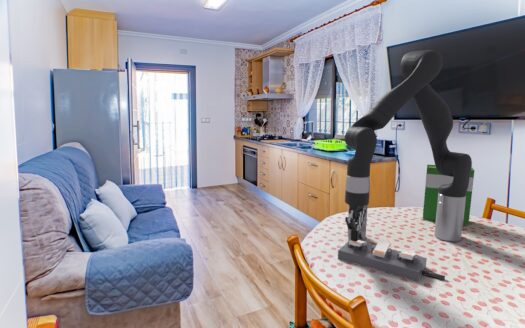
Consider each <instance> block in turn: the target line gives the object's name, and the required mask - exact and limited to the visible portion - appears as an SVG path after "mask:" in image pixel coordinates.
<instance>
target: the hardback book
mask: <svg viewBox="0 0 525 328" xmlns="http://www.w3.org/2000/svg"><path fill="white" fill-rule="evenodd" d="M474 176H475V169H474V167H472V168H471V174H470V179H469V186H468V189H467V192H466V200H465V210H464V219H463V226H469V224H470V214H471V213H470V212H471V206H472V205H471V204H472V197H473V196H472V195H473V189H474V187H473V186H474V178H475V177H474ZM453 178H454V177H451V176H446V175H442V174H440V173H439V172H438V171H437V169H436V166H435V164H427V165H426V175H425V185H424V186H425V187H424V199H423V208H422V210H423V212H422V220H423V221H432V222H436V212H437V202H438V190H439V186H440V185H444V184H450V183H452V182H453Z"/></svg>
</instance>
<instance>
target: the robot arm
mask: <svg viewBox="0 0 525 328" xmlns="http://www.w3.org/2000/svg"><path fill="white" fill-rule="evenodd" d="M442 67H443V58H442V55H441V54H440V52H438V50H432V49H425V50H423V49H422V50H414V51H410V52H407V53H406V54H404V55H403V56H402V58H401V61H400V72H401V74H402V77H403V80H404V81H402V82H401V83H399V84H398V85H397V86H395V87H393V88H391V90H389V91H387V92H386V93H384V94H383V95H382V96H381V97H380V98H378V99H377V101H375V103H374V104H373V105H372V106H371V107H370V108H369V110H368V111H367V112H366V114H364V115H363V116H362V117H360V118H358V120H356V121H355V122H354V123H352V124H351V125H350V126H349V127H348V129H347V130H346V132H345V134H344V143H345V145H346V146H348V147H349V148H351V149H354V150H355V152H354V156H351V157H348V160H347V167H346V170H347V171H346V179H345V190H344V191H345V192H344V203H345V204H347V205H348V210H347V211H348V214H349V217H348V216H345V218H344V220H345V224H346V226H347V230H348V229H350V230H351V240H352V241H355V242H357V241H358V240H359V230H360V228H361V226H362V225H363V221H364V217H365V214H366V210H365V209H363V208H364V206H367V205H368V206H369V204H370V194H371V193H370V190H371V180H370V179H371V178H370V177H371V164H372V163H371V162H372V160H373V157H374V154H375V152H376V147H377V141H378V140H377V134H376V132H375V131H377V130H381V129H384V128H385V127H386V126H387V125H388V124H389V123H390V122H391V120H392V118H394V117H395V116H396V114H397V113H398V112H399V111H400V110H401V109H402V108H403V107H404V106H405V105H406V103H408V102H409V101H410V100H411V99H413V100H414V103H415V105H416V108H417V110H418V112H419V116H420V120H421V123H422V125H423V128H424V130H425V133H426V136H427V138H428V142H429V144H430V145H429V146H430V148H431V153H432V157H433V160H434V162H433V163H434V165H435V166H436V169H437V171H438V172H439V173H440V174H442V175H446V176H451V177H454V178H453V182H452V183H450V184H444V185H440V186H439V190H438V202H437V212H436V221H435V225H434V237H435V238H437V239H440V240H442V241H445V242H460V241H462V236H463V227H464V225H463V219H464V210H465V200H466V192H467V189H468V186H469V179H470V174H471V168H473V161H472V157H471V156H470V154H468V153H464V152H463V153H462V152H454V151H450V150H449V148H448V144H447V140H448V138H449V136H450V134H451V132H452V130H453V127H454V120H453V117H452V113H451V110H450V108H449V105H448V104H447V102H446V101H445V100H444V99H443V97H441V96H440V95H439V94H438V93H437V92H436V91H435V90H434V89H433V87H432V86H431V85H430V82H432V81H433V80H434V79H436V77H437V76H438V75H439V74H440V72H441V71H442ZM349 206H350V207H349ZM348 214H347V215H348Z"/></svg>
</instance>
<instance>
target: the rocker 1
mask: <svg viewBox="0 0 525 328" xmlns="http://www.w3.org/2000/svg"><path fill="white" fill-rule="evenodd" d="M364 243H367V241H366V240H365V241H361V240H358V241H357V242H355V241H352V240H351V241H349V244H350V245H354V246H358V247H360V246H362V245H363V244H364Z"/></svg>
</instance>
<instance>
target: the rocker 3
mask: <svg viewBox="0 0 525 328" xmlns="http://www.w3.org/2000/svg"><path fill="white" fill-rule="evenodd" d="M416 255H417V253H415V252H412V251H411V252H410V251H407V250H403V251H401V253H399V257H402V258H406V259H410V260H412V259H414V258H415V256H416Z"/></svg>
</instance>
